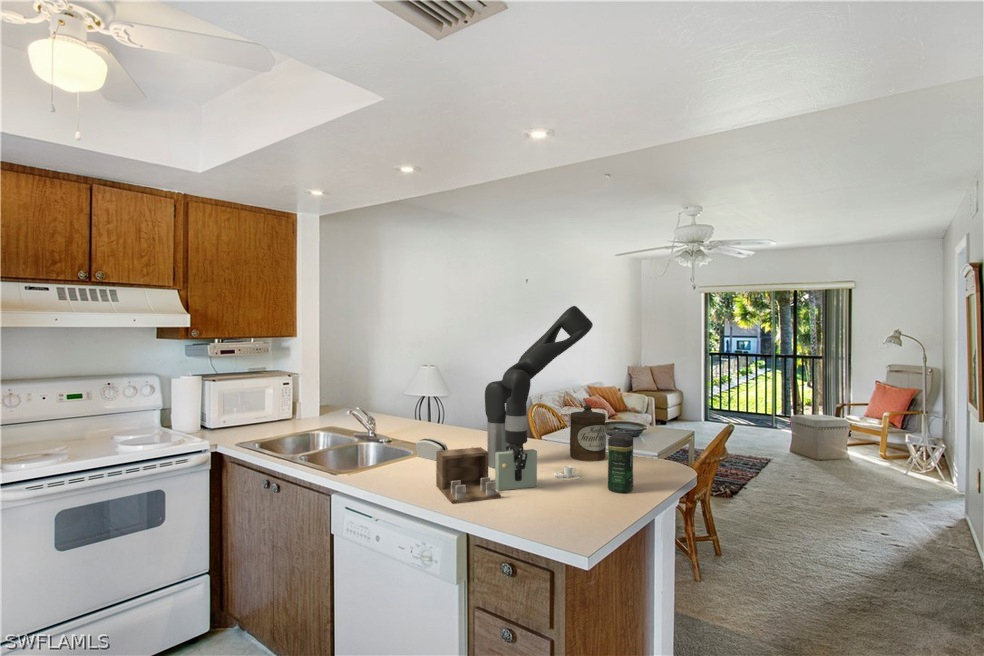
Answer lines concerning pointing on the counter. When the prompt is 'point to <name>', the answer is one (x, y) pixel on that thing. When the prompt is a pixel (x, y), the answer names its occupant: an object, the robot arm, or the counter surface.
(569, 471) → the teacup and saucer
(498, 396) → the robot arm
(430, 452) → the grey rounded block
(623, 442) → the coffee jar
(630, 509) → the counter surface
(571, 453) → the wooden container
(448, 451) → the cabinet
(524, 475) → the door
